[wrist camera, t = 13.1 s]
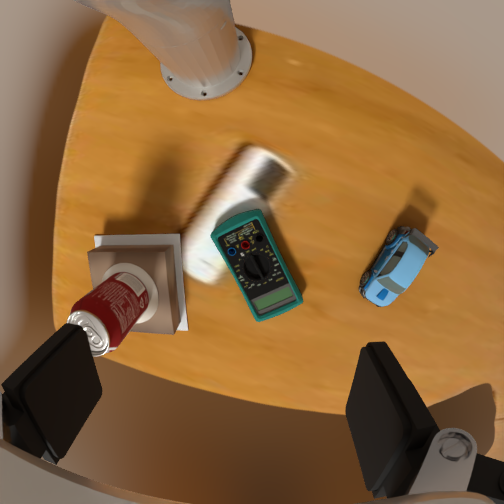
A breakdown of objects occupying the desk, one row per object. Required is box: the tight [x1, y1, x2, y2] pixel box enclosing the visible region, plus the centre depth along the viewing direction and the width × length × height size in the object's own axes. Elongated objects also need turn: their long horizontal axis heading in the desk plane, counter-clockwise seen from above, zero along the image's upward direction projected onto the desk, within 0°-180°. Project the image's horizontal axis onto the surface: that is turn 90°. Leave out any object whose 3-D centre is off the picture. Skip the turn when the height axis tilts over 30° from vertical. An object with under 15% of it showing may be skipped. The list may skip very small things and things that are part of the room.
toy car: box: [359, 226, 439, 307], centre depth 39 cm, size 6×12×6 cm, turn 149°
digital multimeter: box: [211, 209, 303, 322], centre depth 41 cm, size 7×15×3 cm, turn 26°
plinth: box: [87, 245, 181, 335], centre depth 41 cm, size 12×12×4 cm
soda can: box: [67, 272, 149, 356], centre depth 33 cm, size 7×7×12 cm
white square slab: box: [94, 234, 188, 331], centre depth 43 cm, size 15×14×1 cm
